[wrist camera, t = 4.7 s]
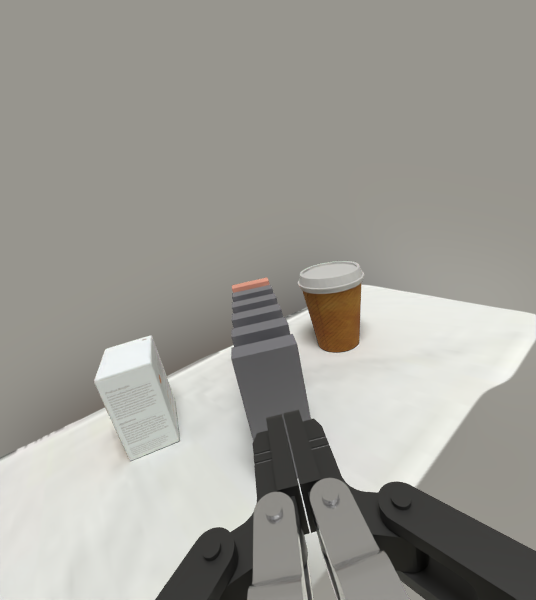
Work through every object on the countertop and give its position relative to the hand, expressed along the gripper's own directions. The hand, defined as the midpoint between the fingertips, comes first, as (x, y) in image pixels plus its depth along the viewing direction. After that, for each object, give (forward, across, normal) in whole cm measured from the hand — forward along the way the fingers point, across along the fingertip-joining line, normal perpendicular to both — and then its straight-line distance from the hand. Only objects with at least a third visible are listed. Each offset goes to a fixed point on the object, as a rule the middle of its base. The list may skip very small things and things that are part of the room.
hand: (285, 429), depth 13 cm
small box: (+21, +16, +14) cm, 29 cm away
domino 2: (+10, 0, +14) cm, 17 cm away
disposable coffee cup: (+31, -11, +14) cm, 36 cm away
